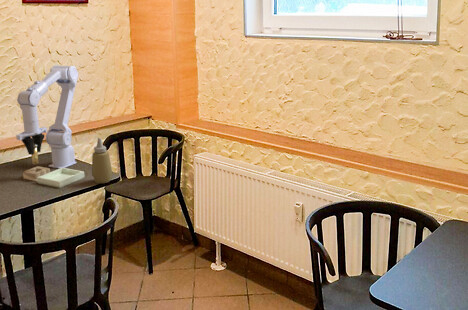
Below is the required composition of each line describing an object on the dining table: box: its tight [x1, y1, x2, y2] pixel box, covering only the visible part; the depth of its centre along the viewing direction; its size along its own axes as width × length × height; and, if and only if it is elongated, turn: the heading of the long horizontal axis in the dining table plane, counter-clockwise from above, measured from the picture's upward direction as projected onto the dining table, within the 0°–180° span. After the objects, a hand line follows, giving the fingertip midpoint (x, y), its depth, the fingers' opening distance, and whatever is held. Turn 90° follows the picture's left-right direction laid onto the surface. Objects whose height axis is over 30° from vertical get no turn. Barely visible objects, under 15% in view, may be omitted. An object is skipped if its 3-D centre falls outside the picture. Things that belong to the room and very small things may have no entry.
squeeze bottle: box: [91, 137, 113, 184], centre depth 222 cm, size 8×8×18 cm
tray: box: [36, 167, 86, 189], centre depth 226 cm, size 14×12×2 cm
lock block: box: [22, 165, 51, 182], centre depth 230 cm, size 8×7×3 cm
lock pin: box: [31, 144, 39, 165], centre depth 227 cm, size 3×3×8 cm
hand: (34, 153), depth 227 cm, fingers closed on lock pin, 3 cm apart
